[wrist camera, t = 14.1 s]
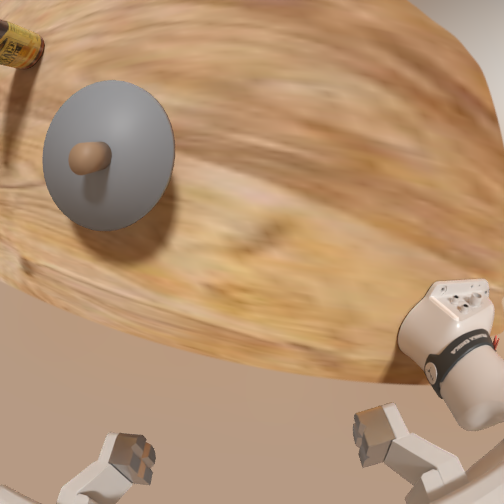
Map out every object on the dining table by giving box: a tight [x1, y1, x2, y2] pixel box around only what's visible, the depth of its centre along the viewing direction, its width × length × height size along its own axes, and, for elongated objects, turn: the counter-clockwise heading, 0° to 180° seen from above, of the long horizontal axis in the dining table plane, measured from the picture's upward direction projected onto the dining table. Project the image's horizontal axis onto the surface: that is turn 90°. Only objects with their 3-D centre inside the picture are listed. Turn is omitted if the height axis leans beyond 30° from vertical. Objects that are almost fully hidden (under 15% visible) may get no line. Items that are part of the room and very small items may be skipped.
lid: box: [43, 80, 175, 231], centre depth 26 cm, size 17×17×5 cm
